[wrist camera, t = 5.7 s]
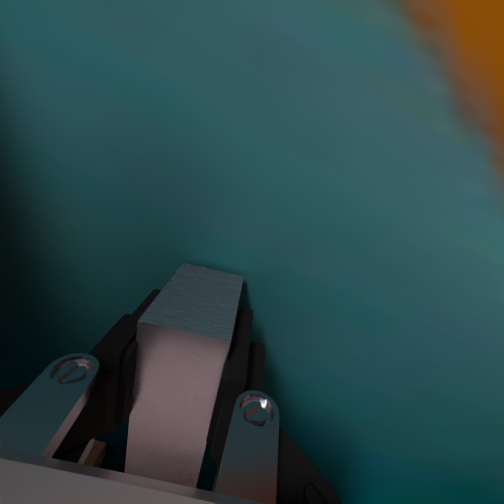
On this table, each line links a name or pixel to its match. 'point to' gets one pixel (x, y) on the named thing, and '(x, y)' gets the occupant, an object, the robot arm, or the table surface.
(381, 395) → the table surface
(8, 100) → the table surface
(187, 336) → the l-shaped block
